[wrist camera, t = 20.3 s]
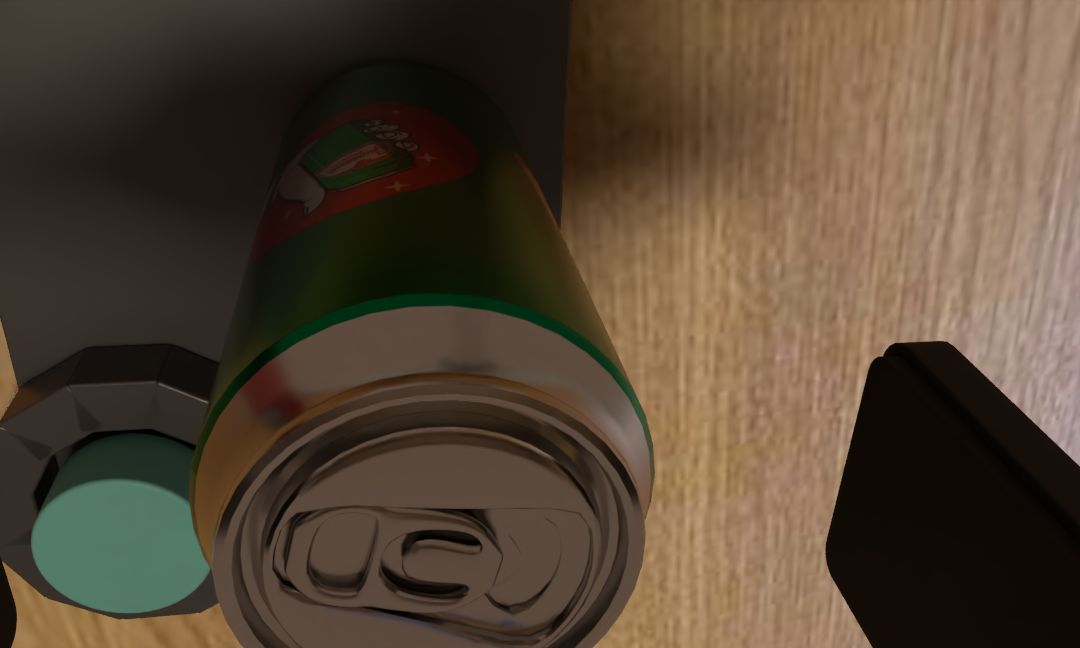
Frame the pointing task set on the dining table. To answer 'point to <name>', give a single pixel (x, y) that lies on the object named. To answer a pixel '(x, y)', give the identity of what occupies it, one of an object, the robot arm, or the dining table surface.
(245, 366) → the soda can
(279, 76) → the scale
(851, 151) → the dining table surface
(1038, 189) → the dining table surface
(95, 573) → the button
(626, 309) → the dining table surface
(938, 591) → the robot arm
